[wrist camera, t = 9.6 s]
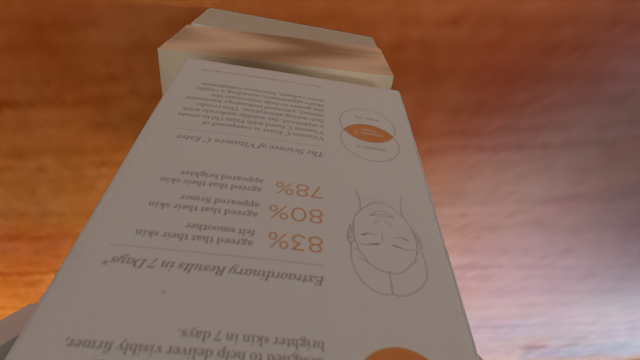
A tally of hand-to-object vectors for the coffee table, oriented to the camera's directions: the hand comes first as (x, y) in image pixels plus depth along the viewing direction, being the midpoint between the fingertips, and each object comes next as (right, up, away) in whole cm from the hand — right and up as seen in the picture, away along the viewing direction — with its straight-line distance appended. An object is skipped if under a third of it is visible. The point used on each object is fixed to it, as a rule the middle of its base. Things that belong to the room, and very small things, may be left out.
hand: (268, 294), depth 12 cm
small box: (0, +5, +5) cm, 7 cm away
